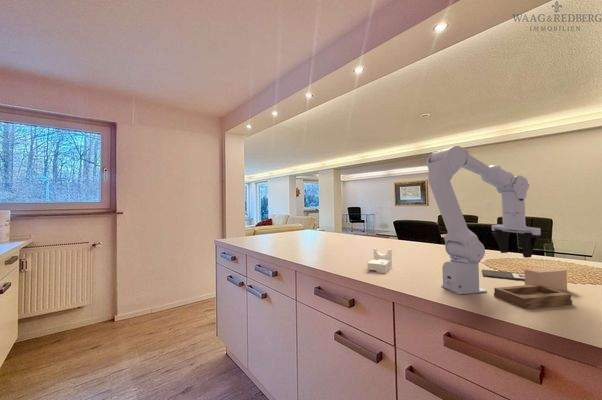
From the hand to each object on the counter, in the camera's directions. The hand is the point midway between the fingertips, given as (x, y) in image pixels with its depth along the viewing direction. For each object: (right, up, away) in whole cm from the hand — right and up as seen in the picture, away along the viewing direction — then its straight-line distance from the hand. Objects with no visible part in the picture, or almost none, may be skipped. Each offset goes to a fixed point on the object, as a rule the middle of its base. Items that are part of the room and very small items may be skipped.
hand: (515, 254), depth 84 cm
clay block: (+5, -10, -5) cm, 12 cm away
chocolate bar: (+6, -10, +8) cm, 15 cm away
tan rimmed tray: (-7, -10, -13) cm, 18 cm away
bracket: (-36, -11, +25) cm, 45 cm away
